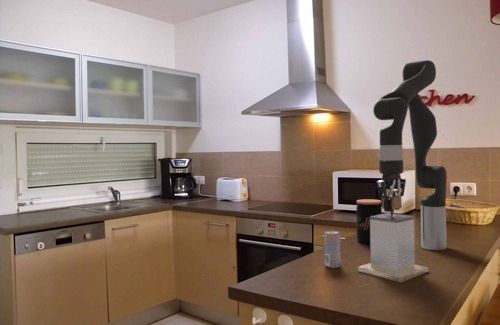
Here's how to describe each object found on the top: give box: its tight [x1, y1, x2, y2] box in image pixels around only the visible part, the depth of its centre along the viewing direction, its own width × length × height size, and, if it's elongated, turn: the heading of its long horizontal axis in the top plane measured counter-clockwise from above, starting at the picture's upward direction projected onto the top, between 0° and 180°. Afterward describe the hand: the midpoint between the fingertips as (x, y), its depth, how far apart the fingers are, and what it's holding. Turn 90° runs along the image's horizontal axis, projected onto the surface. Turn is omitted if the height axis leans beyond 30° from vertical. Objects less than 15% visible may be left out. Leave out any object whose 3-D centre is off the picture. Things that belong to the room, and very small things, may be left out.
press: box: [357, 212, 429, 283], centre depth 139 cm, size 16×16×18 cm
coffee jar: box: [356, 198, 383, 245], centre depth 183 cm, size 11×11×18 cm
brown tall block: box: [381, 194, 402, 217], centre depth 139 cm, size 7×7×21 cm
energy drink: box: [324, 230, 341, 269], centre depth 147 cm, size 5×5×12 cm
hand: (391, 210), depth 138 cm, fingers closed on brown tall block, 4 cm apart
